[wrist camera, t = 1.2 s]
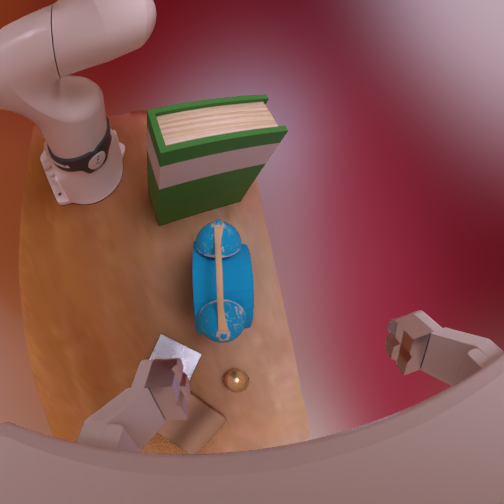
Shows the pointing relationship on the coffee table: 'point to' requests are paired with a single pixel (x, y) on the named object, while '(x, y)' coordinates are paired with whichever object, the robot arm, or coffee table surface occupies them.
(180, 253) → the coffee table surface
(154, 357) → the steel plate
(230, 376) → the brass knob
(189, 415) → the stand
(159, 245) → the coffee table surface
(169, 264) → the coffee table surface
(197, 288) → the alarm clock
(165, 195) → the hardback book
